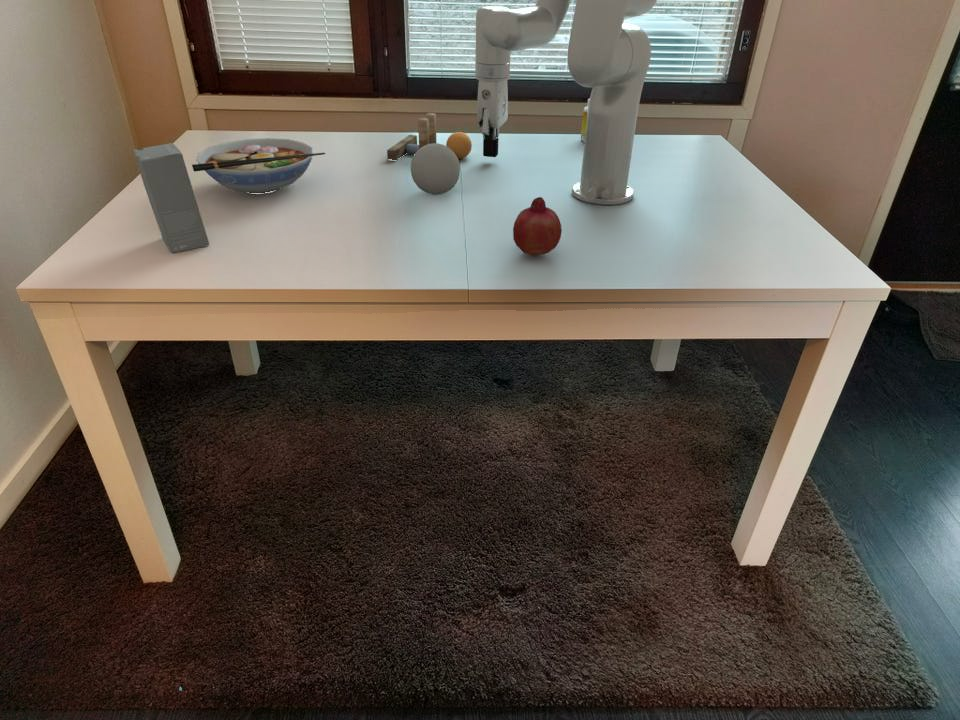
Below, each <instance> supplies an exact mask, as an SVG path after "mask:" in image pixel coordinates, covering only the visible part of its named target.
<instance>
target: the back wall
mask: <svg viewBox="0 0 960 720" xmlns="http://www.w3.org/2000/svg"><path fill="white" fill-rule="evenodd" d="M407 144H416V145H418V135H413V134H409V135H407V136H405V137H404V138H402V139H401V140H399V141H398V142H397V143H396V144H394V145H392V146H391V147H390V148H388V149H387V150H386V152H387V153H386V154H387V155H386V156H387V160H388V159H392V160H397V159H398V158H400V157H401V158H403V157H404V156H406V155H407V154H406V153H407V152H406V147H407ZM405 154H406V155H405ZM403 155H404V156H403ZM402 156H403V157H402ZM401 158H400V159H401ZM397 161H398V160H397Z"/></svg>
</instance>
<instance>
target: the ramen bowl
mask: <svg viewBox="0 0 960 720" xmlns="http://www.w3.org/2000/svg"><path fill="white" fill-rule="evenodd" d="M322 155H323V156H324V155H326V152H318V153H317V152H316V153H314V146H311V145H310V144H308V143H306V142H304V141H299V140H294V139H290V138H289V139H288V138H274V137H263V138H261V137H260V138H246V139H239V140H233V141H232V140H231V141H227V142H224V143H220V144H216V145H213V146H209V147H207V148H206V149H204V150H202V151H201V152H199V153H198V155H196V156H197V157H196V159H195V161H196V162H197V163H193V164H191V168H192V170H193V172H200V171H201V172H202V171H205V172H206V174H207V175H208V176H209V177H211V179H213V180H215V181H216V182H217V183H218V184H220V185H221V186H222V187H225V188H227V189H230V190H235V191H238V192H242V193H246V192H249V193H265V192H270V191H274V190H278V189H279V190H280V188H281V189H283V188H286V187H288V186H290V185H292V184H294V183H295V182H296V181H297V180H298V179H300V178H301V177H302V176H303V175H304V173H305V172H306V171H307V170H308V167H309V166H310V163H311V162H312V160H313V157H315V156H322ZM279 190H278V191H279ZM249 193H248V194H249Z"/></svg>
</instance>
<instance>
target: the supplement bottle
mask: <svg viewBox="0 0 960 720" xmlns="http://www.w3.org/2000/svg"><path fill="white" fill-rule="evenodd" d="M589 100H590V98H588V99H587V103H586V105H587V106H585V107H584V108H583V112H582V123H581V133H580V140H581V141H582V142H583V143H585V133H586V124H587V114H588V106H589Z"/></svg>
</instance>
